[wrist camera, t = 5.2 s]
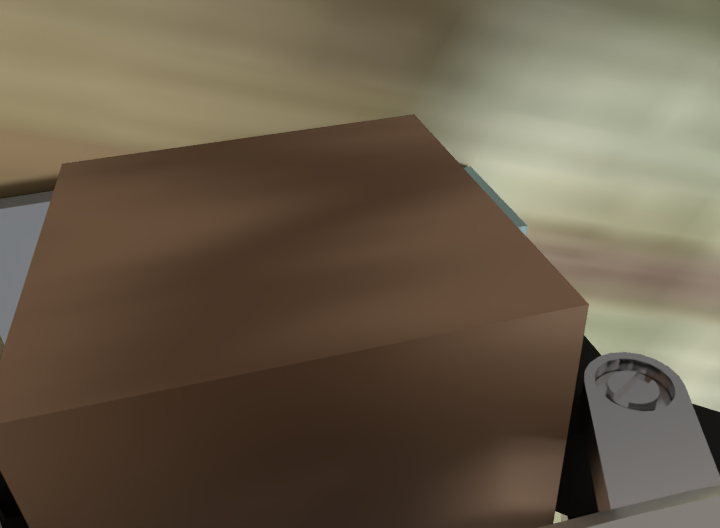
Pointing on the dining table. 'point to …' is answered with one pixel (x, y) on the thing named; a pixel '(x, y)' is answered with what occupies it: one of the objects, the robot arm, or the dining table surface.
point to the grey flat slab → (18, 248)
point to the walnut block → (287, 343)
